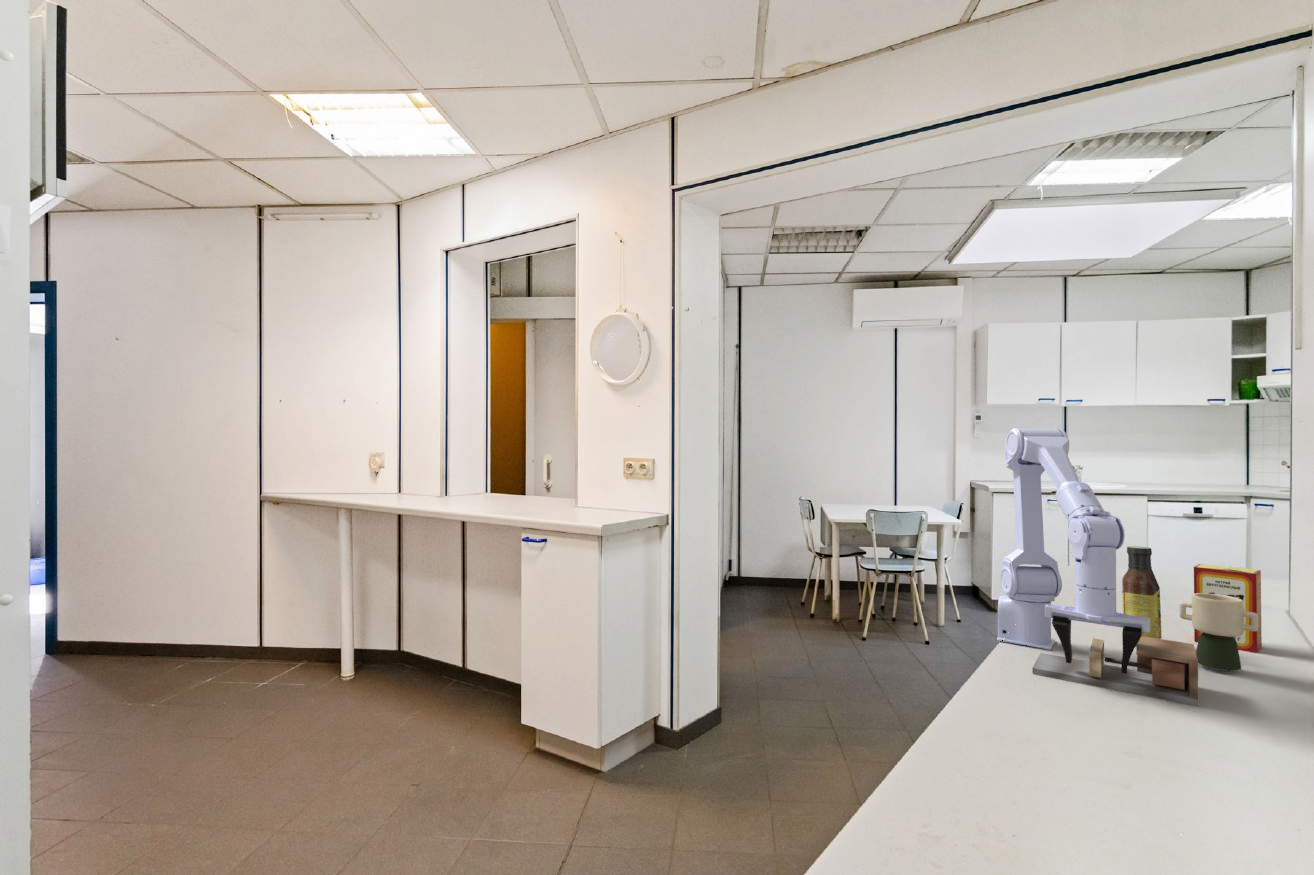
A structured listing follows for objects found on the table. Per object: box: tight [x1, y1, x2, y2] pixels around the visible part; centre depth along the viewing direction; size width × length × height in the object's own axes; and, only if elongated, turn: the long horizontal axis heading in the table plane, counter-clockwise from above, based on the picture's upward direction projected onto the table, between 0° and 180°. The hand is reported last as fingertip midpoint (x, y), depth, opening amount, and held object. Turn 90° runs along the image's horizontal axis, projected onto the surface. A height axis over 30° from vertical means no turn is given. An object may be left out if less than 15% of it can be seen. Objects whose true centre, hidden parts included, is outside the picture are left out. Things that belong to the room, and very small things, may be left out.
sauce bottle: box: [1121, 545, 1162, 647], centre depth 128 cm, size 6×6×20 cm
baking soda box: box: [1193, 563, 1263, 654], centre depth 129 cm, size 10×6×16 cm
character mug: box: [1178, 593, 1258, 672], centre depth 113 cm, size 11×7×13 cm, turn 36°
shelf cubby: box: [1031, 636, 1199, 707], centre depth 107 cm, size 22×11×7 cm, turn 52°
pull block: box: [1088, 637, 1184, 690], centre depth 104 cm, size 12×10×4 cm
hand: (1095, 666), depth 105 cm, fingers open, 7 cm apart
